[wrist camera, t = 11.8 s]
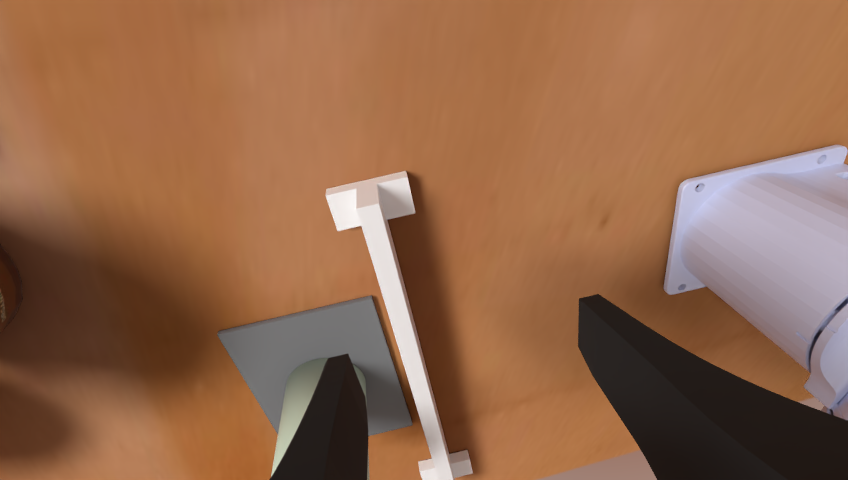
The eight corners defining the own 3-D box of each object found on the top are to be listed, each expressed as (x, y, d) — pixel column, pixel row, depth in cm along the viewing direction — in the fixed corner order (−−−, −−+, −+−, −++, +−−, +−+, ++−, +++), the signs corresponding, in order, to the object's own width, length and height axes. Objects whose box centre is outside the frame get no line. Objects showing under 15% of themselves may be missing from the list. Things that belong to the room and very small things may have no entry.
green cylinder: (354, 350, 26) (356, 478, 19) (373, 401, 28) (380, 530, 22) (274, 368, 26) (246, 505, 19) (300, 418, 28) (285, 554, 21)
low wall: (405, 170, 21) (412, 195, 18) (470, 463, 34) (479, 501, 32) (326, 188, 21) (322, 216, 18) (423, 475, 34) (428, 514, 32)
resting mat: (371, 295, 24) (371, 298, 24) (412, 421, 30) (412, 425, 30) (218, 331, 24) (217, 334, 24) (290, 450, 30) (290, 454, 30)
